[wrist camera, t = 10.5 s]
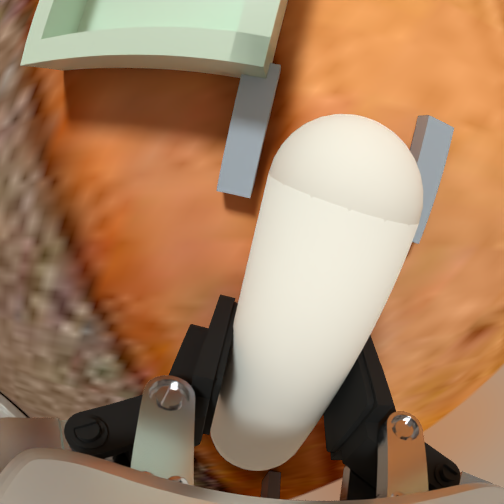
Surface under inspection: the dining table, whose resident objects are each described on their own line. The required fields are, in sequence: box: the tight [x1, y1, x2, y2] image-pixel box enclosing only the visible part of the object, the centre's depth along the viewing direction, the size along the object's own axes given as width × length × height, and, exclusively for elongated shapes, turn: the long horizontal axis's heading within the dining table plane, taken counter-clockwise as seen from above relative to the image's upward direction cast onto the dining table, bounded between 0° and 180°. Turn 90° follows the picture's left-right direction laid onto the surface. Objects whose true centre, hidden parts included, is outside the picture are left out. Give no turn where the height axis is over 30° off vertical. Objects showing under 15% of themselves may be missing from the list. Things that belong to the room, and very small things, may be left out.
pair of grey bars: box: [217, 63, 454, 244], centre depth 8 cm, size 4×7×1 cm, turn 78°
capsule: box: [210, 114, 423, 471], centre depth 9 cm, size 14×4×4 cm, turn 168°
